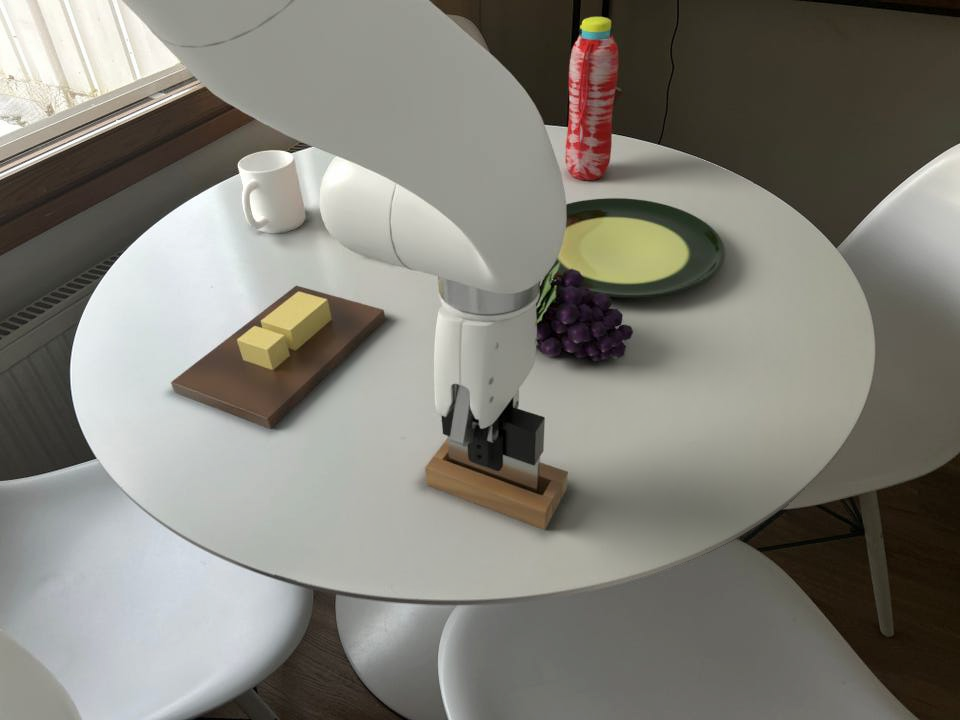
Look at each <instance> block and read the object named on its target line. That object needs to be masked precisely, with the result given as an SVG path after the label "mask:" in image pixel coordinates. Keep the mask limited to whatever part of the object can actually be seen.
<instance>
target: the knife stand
mask: <svg viewBox="0 0 960 720" xmlns="http://www.w3.org/2000/svg"><path fill="white" fill-rule="evenodd" d="M424 471H425V478H426V486H428V487H431V488H433V489H436V490H439V491H442V492H443V493H444V492H445V493H447V494H449V495H452V496H455V497H457V498H460V499H463V500H465V501H468V502H471V503H473V504H476V505H479V506H481V507H484V508H486V509H488V510H491V511H495V512H496V513H499V514H502V515H504V516H507V517H509V518H512V519H515V520H517V521H520V522H523V523H526V524H529V525H530V526H534V527H536V528H539V529H542V530H544V531H545V530H546V529H547V527H548V526H549V523H550V522H551V520H552V517H553V516H554V514H555V512H556V511H557V508H558V507H559V504H560V503H561V501H562V499H563V498H564V495H565V493H566V492H567V487H568V473H569V472H568V471H567V470H564V469H561V468H558V467H555V466H552V465H549V464H547V463H544V462H541V461H540V470H539V494H536V493H534V492H531V491H528V490H525V489H522V488H520V487H517V486H514V485H511V484H509V483H506V482H503V481H500V480H498V479H495V478H492V477H489V476H486V475H484V474H481V473H478V472H475V471H473V470H470V469H467V468H464V467H462V466H459V465H456V464H453V463H450V462H449V450H448V437H447V438H446V439H445V440H444V441H443V443H442V445H441V446H440V447H439V448H438V450H437V451H436V452H435V454H434V455H433V456H432V458H430V460H429V461H428V463H427V464H426V465H425V467H424Z"/></svg>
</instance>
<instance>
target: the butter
mask: <svg viewBox="0 0 960 720" xmlns="http://www.w3.org/2000/svg"><path fill="white" fill-rule="evenodd" d="M330 320H331V314H330V309H329V304H328V300H327V299H324V298H321V297H317V296H313V295H310V294H306V293H303V292H299V291H298V292H297V293H296V294H294V295H293V296H292V297H291V298H289V299H288V300H287V301H285V302H284V303H283V304H282V305H280V306H279V307H278V308H277V309H275V310H274V311H273V312H271V313H270V314H269V315H268V316H266V317H265V318H264V319H262V320H261V324H262V328H263V329H266V330H270V331H273V332H276V333H279V334H282V335H285V338H286V342H287V346H288V348H289V349H292V350H295V351H296V350H297V349H298V348H299V347H301V346H302V345H303V344H304V343H305V342H306V341H308V340H309V339H310V338H311V337H312V336H313V335H314V334H316V333H317V332H318V331H319V330H320V329H321V328H322V327H324V326H325V325H326V324H327V323H328V322H329V321H330Z"/></svg>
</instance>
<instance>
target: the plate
mask: <svg viewBox="0 0 960 720" xmlns="http://www.w3.org/2000/svg"><path fill="white" fill-rule="evenodd" d="M566 214H567V220H566V230H565V235H564V240H563V244H562V247H561V250H560V253H559V255H558V257H557V259H556V261H555V263H554V265H553V266H552V268H551V269H550V271H549V272H548V274H549V273H550V272H551V271H552V269H553V268H555V266H557V264H558V263H559V262H560V264H559V265H560V266H559V267H558V268H559V269H558V271H557V272H556V274H555V275H554V277H553V278H552V280H553V279H554V278H555V277H556V276H557V275H563V273H564V272H565V271H567V270H569V269H574V270H577V271H579V272H580V273H581V275H582V276H583V278H584V280H583V283H582V285H583V286H585V287H586V288H588V289H589V290H590V291H591V292H593V293H595V295H596V294H597V293H598V292H600V293H605V294H606V295H607V296H609V297H610V298H611V297H612V298H622V299H643V298H645V299H646V298H656V297H662V296H669V295H673V294H676V293H680V292H683V291H685V290H688V289H691V288H694V287H696V286H698V285H700V284H703V283H705V282H707V281H708V280H710V279H711V278H712V277H713V276H715V274H717V273H718V271H719V270H720V269H721V268H722V266H723V264H724V262H725V257H726V248H725V244H724V242H723V240H722V238H721V236H720V235H719V233H718V232H717V231H716V230H715V229H714V228H713V227H712V226H711V225H710V224H708V223H707V222H706V221H704V220H702V219H701V218H699V217H698V216H695V215H694V214H692V213H689V212H688V211H685V210H683V209H680V208H677V207H674V206H672V205H668V204H664V203H660V202H656V201H650V200H645V199H636V198H627V197H625V198H623V197H608V198H594V199H585V200H579V201H574V202H569V203H566ZM552 280H551V281H552ZM556 280H560V281H561V278H560V277H559V276H558V277H557V278H556V279H555V281H556Z"/></svg>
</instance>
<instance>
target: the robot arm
mask: <svg viewBox="0 0 960 720" xmlns="http://www.w3.org/2000/svg"><path fill="white" fill-rule="evenodd" d="M121 2H122V3H124V4H125V5H126V7H128V9H129V10H130V11H132V12H133V13H134V14H135V16H136V17H137V18H139V20H140V21H141V22H142V23H144V25H145V26H146V27H147V28H148V29H149V30H150V32H151V33H152V34H153V35H154V36H155V37H156V38H157V39H158V40H159V41H160V42H161V43H162V44H163V46H165V47H166V49H167V50H169V52H170V53H172V54H173V56H174V57H176V58H177V60H178V61H180V62H181V64H182V65H183V66H184V68H186V69H187V70H188V71H189V72H190V73H191V74H192V76H193V77H194V78H195V79H196V80H197V81H198V82H199V83H200V84H201V85H203V86H204V87H205V88H206V89H207V90H208V91H209V92H211V93H212V95H214V96H216V97H217V98H219V99H220V100H222V101H223V102H225V103H226V104H228V105H230V106H231V107H233V108H235V109H237V110H239V111H240V112H242V113H243V114H245V115H247V116H250V117H251V118H253V119H255V120H256V121H259V122H260V123H262V124H263V125H266V126H268V127H270V128H272V129H274V130H276V131H278V132H279V133H281V134H283V135H285V136H287V137H290V139H293V140H296V141H298V142H301V143H303V144H305V145H307V146H310V147H313V148H315V149H318V150H320V151H322V152H325V153H328V154H330V155H333V156H334V157H333V159H332V160H331V162H330V164H329V165H328V167H327V168H326V170H325V172H324V174H323V177H322V179H321V182H320V187H319V194H318V195H319V196H318V197H319V198H318V206H319V211H320V216H321V220H322V221H323V224H324V226H325V228H326V230H327V232H328V233H329V234H330V235H331V237H332V238H333V239H334V240H335V241H336V242H338V243H339V244H340V245H341V246H343V247H344V248H346V249H348V250H349V251H351V252H353V253H355V254H358V255H360V256H363V257H366V258H368V259H372V260H375V261H378V262H381V263H386V264H389V265H392V266H396V267H400V268H403V269H406V270H411V271H416V272H421V273H424V274H428V275H430V276H435V277H437V283H438V296H439V301H440V303H441V306H440V307H439V309H438V312H437V317H436V323H435V325H436V326H435V334H434V346H433V347H434V349H433V388H434V406H435V410H436V412H437V415H439V416H441V415H442V416H444V417H446V416H447V415H448V414H449V412H450V411H451V410H452V409H453V407H454V406H455V408H454V414H453V421H452V427H451V434H450V442H451V443H454V444H457V445H460V446H463V447H465V446H467V447H468V459H469V460H470V461H471V462H473V463H476V464H478V465H481V466H484V467H487V468H490V469H493V470H495V471H500V470H501V468H502V467H503V435H500V434H498V432H499V427H498V417H499V416H500V414H501V413H502V412H503V410H504V409H505V408H506V406H507V405H508V406H511V407H514V408H517V409H519V405H520V388H521V387H522V385H523V384H524V382H525V381H526V379H527V378H528V377H529V375H530V373H531V371H532V370H533V368H534V365H535V361H536V354H537V344H538V343H537V317H536V303H537V302H538V299H539V295H540V285H541V282H542V281H543V279H544V277H545V276H546V275H547V273H548V272H549V271H550V269H551V268H552V266H553V265H554V263H555V261H556V259H557V257H558V255H559V253H560V250H561V247H562V244H563V240H564V235H565V230H566V220H567V214H566V204H567V196H566V189H565V185H564V181H563V176H562V172H561V169H560V166H559V163H558V160H557V157H556V153H555V151H554V147H553V145H552V142H551V138H550V136H549V133H548V131H547V128H546V125H545V123H544V120H543V117H542V115H541V114H540V112H539V110H538V107H537V106H536V104H535V103H534V101H533V99H532V98H531V97H530V95H529V94H528V92H527V91H526V89H525V88H524V87H523V86H522V84H521V83H520V82H519V81H518V80H517V79H516V77H515V76H514V75H513V74H512V73H511V72H510V71H509V70H508V69H507V68H506V67H505V66H504V65H503V63H501V62H500V61H499V60H498V59H497V58H496V57H495V56H494V55H492V53H490V52H489V51H488V50H487V49H486V48H484V46H483V45H481V44H480V43H479V42H478V41H476V39H474V38H473V37H472V36H471V35H469V34H468V32H466V31H465V30H464V29H462V27H461V26H460V25H458V24H457V23H456V22H455V21H454V20H453V19H451V18H450V17H449V16H448V15H447V14H445V13H444V12H443V11H442V10H441V9H440V8H439V7H437V6H436V5H435V4H434V3H433V2H432V1H430V0H121ZM540 281H541V282H540ZM475 419H478V420H479V423H478V422H475ZM0 720H83V718H82V715H81V713H80V712H79V709H78V707H77V705H76V703H75V702H74V700H73V698H72V696H71V695H70V693H69V692H68V690H67V689H66V688H65V687H64V685H63V684H62V683H61V682H60V681H59V680H58V678H57V677H56V676H55V675H54V673H52V671H50V670H49V669H48V668H47V666H46V665H44V663H43V662H42V661H40V660H39V659H38V658H37V657H36V656H35V655H34V654H32V653H31V652H30V651H29V650H28V649H27V648H25V646H23V645H22V644H21V643H20V642H18V640H16V639H15V638H13V637H12V636H11V635H10V634H9V633H7V632H6V631H5V630H3V628H1V627H0Z"/></svg>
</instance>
